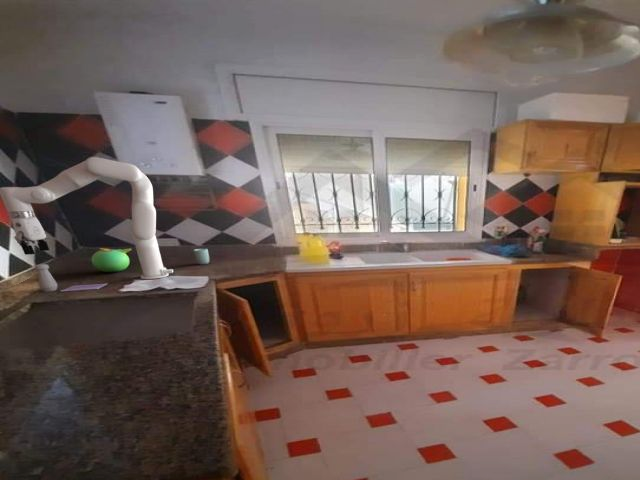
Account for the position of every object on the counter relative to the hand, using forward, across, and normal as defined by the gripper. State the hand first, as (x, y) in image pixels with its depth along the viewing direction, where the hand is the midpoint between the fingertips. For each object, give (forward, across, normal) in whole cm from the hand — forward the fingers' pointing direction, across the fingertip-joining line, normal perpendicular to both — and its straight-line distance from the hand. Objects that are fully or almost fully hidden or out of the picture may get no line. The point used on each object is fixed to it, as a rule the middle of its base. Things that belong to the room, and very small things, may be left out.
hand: (37, 252), depth 150 cm
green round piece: (+20, +37, -9) cm, 43 cm away
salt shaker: (+19, 0, +1) cm, 19 cm away
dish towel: (+19, 0, -12) cm, 23 cm away
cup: (+21, +45, -53) cm, 73 cm away
